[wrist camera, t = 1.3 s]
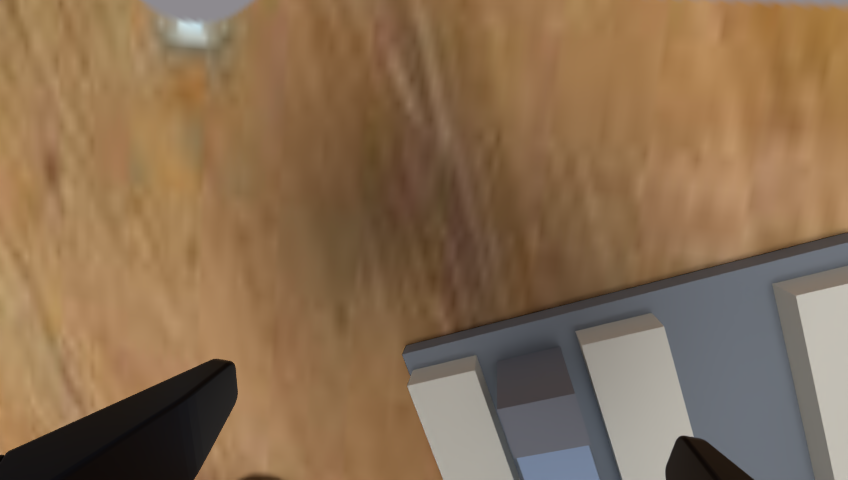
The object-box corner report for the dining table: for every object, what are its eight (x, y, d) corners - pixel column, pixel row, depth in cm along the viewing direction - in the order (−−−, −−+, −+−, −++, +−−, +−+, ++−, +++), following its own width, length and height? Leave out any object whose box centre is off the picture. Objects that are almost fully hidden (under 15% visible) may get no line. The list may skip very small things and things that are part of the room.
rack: (898, 499, 20) (952, 547, 18) (484, 552, 25) (483, 595, 23) (849, 232, 18) (902, 245, 16) (405, 345, 23) (395, 369, 21)
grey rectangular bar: (615, 521, 22) (640, 600, 18) (554, 529, 23) (566, 607, 19) (560, 346, 20) (575, 393, 17) (496, 361, 21) (496, 409, 17)
